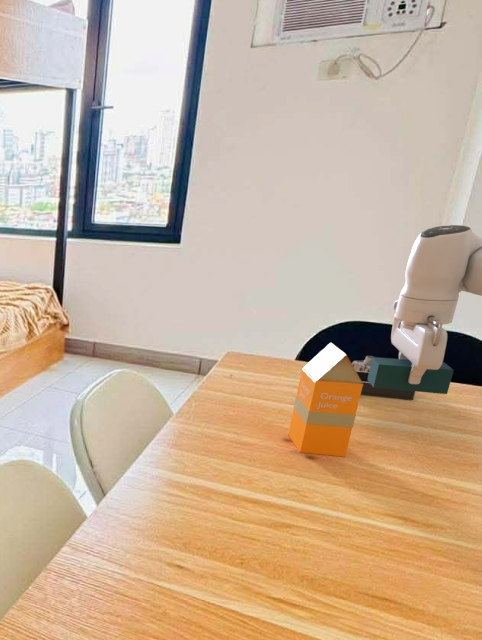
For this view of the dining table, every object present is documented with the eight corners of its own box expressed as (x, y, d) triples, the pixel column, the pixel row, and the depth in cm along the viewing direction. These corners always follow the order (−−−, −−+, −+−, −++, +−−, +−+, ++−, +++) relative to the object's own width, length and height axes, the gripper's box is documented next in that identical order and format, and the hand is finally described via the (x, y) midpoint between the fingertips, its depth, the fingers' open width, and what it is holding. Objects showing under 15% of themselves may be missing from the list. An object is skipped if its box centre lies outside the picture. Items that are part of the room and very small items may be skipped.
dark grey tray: (401, 387, 154) (404, 375, 153) (412, 400, 145) (416, 387, 144) (323, 379, 160) (326, 368, 159) (330, 391, 152) (333, 379, 151)
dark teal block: (438, 385, 128) (444, 362, 126) (447, 394, 123) (453, 370, 122) (367, 379, 133) (372, 357, 131) (373, 387, 128) (378, 364, 127)
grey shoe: (376, 379, 159) (380, 364, 158) (347, 367, 169) (350, 352, 167) (395, 379, 159) (399, 363, 158) (365, 367, 169) (369, 352, 168)
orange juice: (299, 452, 120) (321, 352, 114) (287, 434, 128) (307, 340, 122) (346, 457, 118) (371, 355, 111) (331, 438, 126) (354, 342, 119)
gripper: (464, 324, 113) (444, 396, 117) (428, 302, 130) (412, 365, 135) (420, 321, 115) (402, 392, 120) (391, 300, 133) (377, 362, 137)
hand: (407, 377), depth 128 cm, fingers closed on dark teal block, 5 cm apart
